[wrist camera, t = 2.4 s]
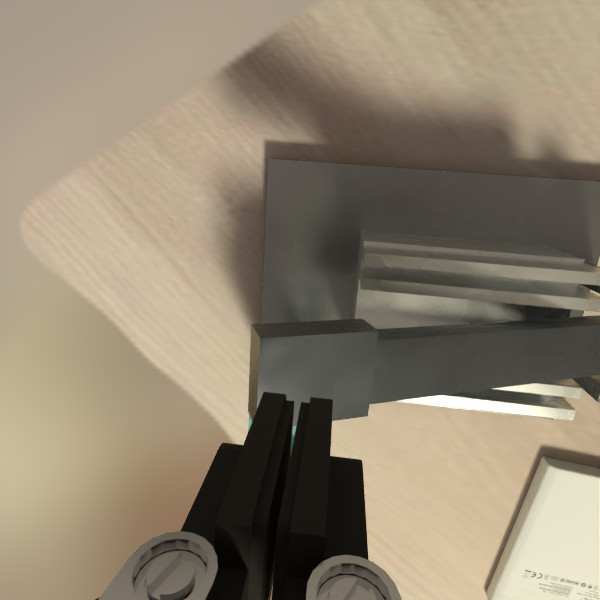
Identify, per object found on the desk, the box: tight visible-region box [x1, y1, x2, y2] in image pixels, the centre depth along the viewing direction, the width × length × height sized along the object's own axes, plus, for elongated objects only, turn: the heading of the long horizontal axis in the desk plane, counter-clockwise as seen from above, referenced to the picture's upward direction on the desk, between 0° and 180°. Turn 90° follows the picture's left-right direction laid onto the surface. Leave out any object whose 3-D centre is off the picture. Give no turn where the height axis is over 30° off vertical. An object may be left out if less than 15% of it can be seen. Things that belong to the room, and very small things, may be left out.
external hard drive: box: [486, 456, 600, 600], centre depth 29 cm, size 2×8×12 cm
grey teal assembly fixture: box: [261, 159, 600, 420], centre depth 22 cm, size 18×14×7 cm
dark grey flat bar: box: [248, 316, 600, 426], centre depth 16 cm, size 18×3×1 cm, turn 86°
